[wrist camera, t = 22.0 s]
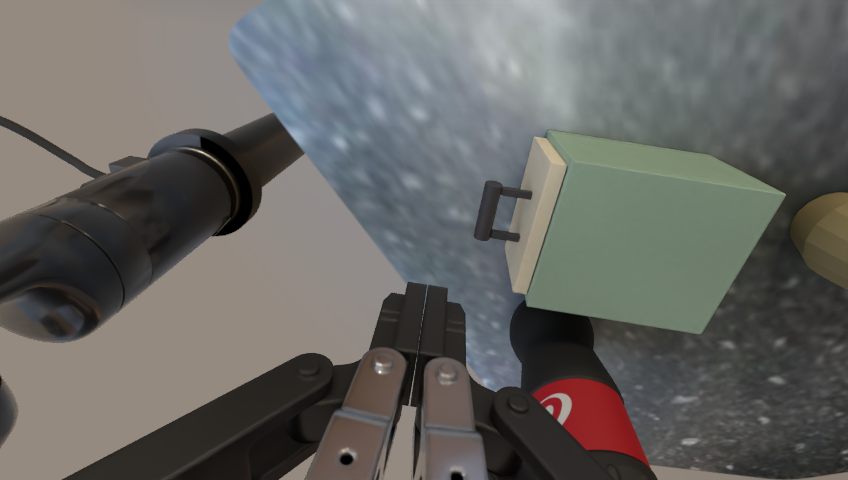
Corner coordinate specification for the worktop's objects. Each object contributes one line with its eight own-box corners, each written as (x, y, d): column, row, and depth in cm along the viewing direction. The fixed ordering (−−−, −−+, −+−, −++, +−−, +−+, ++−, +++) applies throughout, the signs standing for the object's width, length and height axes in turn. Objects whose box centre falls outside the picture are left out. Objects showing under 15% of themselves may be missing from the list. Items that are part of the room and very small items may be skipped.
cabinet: (513, 250, 42) (526, 306, 33) (547, 129, 36) (573, 160, 27) (652, 272, 41) (701, 335, 33) (710, 154, 35) (787, 194, 27)
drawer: (466, 241, 41) (467, 284, 34) (490, 129, 35) (496, 153, 28) (636, 269, 40) (671, 318, 34) (686, 160, 35) (740, 192, 28)
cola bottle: (492, 309, 45) (531, 699, 19) (557, 271, 42) (712, 673, 16) (534, 354, 48) (620, 753, 22) (598, 321, 45) (790, 740, 19)
